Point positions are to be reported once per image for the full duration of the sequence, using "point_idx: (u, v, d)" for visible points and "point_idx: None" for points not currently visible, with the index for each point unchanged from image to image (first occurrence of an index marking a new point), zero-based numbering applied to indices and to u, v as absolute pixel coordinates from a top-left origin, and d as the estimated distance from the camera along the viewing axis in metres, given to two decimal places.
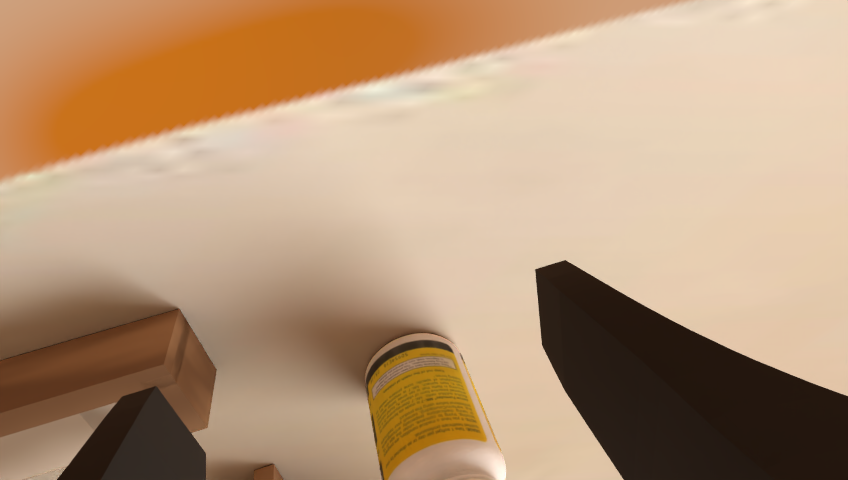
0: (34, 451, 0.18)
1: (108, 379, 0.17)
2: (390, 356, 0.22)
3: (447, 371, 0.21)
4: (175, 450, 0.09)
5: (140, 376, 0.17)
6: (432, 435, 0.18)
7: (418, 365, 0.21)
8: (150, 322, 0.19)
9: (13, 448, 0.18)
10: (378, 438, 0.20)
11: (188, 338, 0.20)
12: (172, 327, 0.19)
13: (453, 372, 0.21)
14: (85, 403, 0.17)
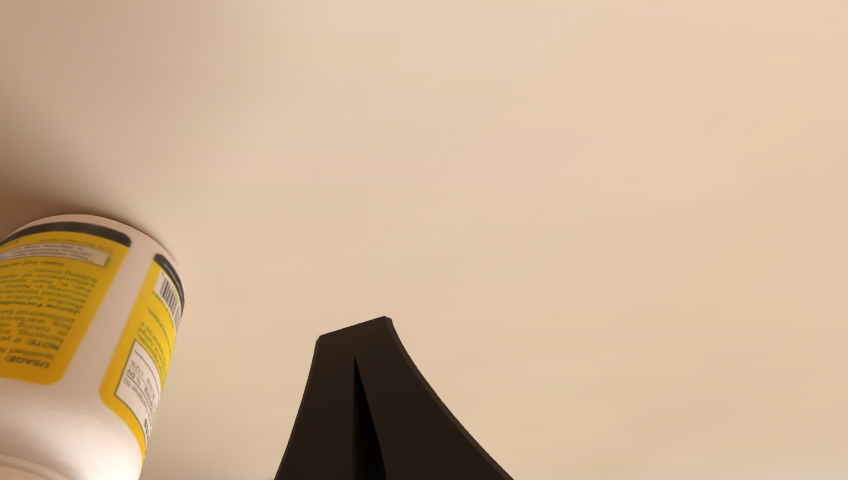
0: None
1: None
2: None
3: (73, 265, 0.11)
4: None
5: None
6: None
7: (18, 255, 0.11)
8: None
9: None
10: None
11: None
12: None
13: (89, 269, 0.11)
14: None
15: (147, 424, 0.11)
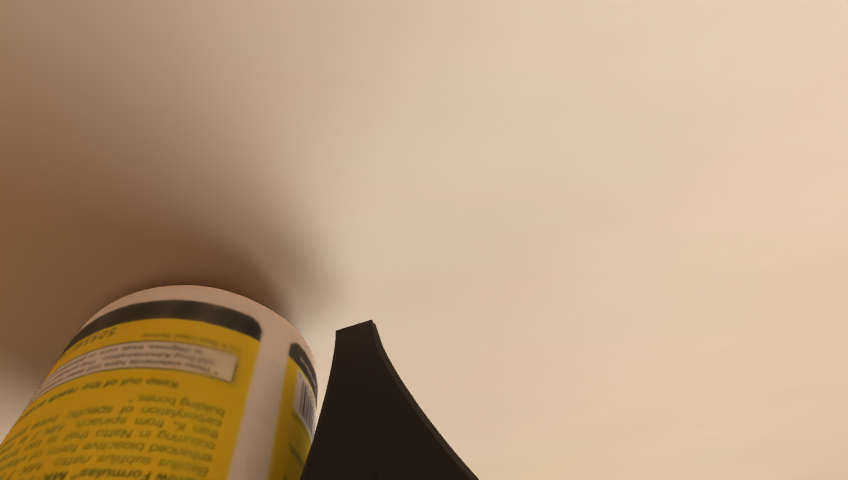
0: None
1: None
2: (84, 335, 0.08)
3: (191, 385, 0.07)
4: None
5: None
6: None
7: (114, 363, 0.07)
8: None
9: None
10: None
11: None
12: None
13: (213, 390, 0.07)
14: None
15: None
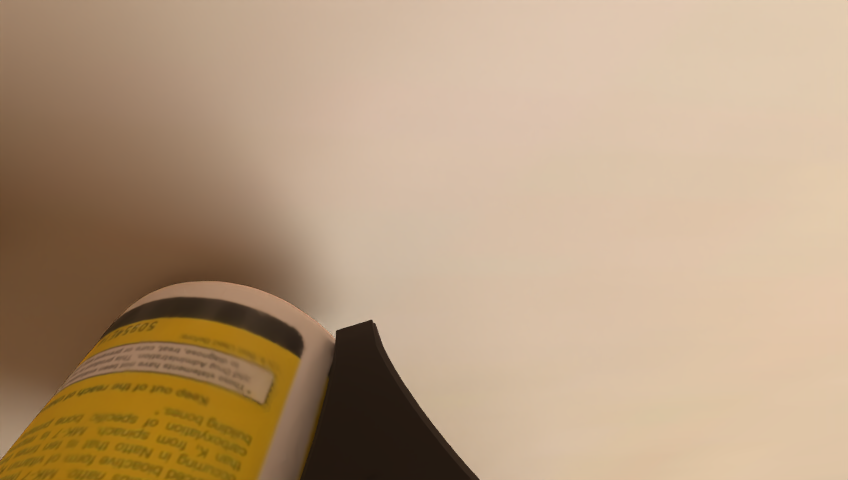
0: None
1: None
2: (126, 322, 0.08)
3: (221, 404, 0.07)
4: None
5: None
6: None
7: (147, 365, 0.07)
8: None
9: None
10: None
11: None
12: None
13: (244, 412, 0.07)
14: None
15: None
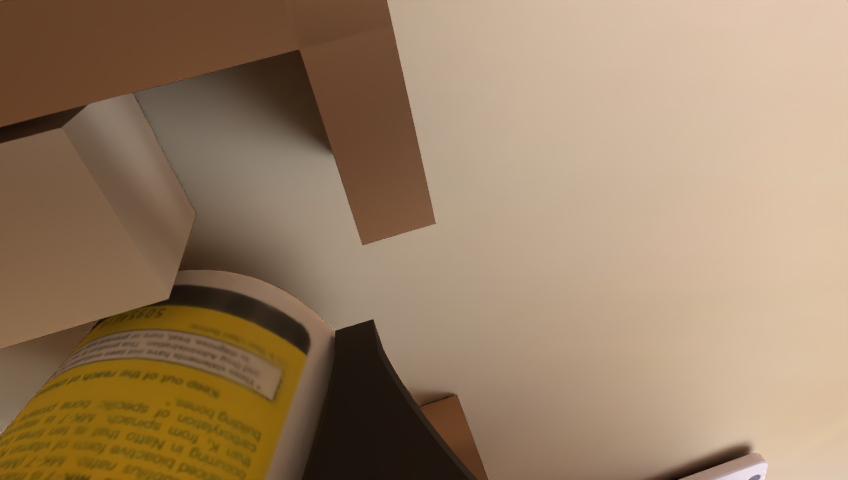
0: None
1: None
2: None
3: (232, 398, 0.07)
4: None
5: None
6: None
7: (158, 353, 0.07)
8: None
9: None
10: None
11: None
12: None
13: (253, 408, 0.07)
14: (90, 65, 0.05)
15: None
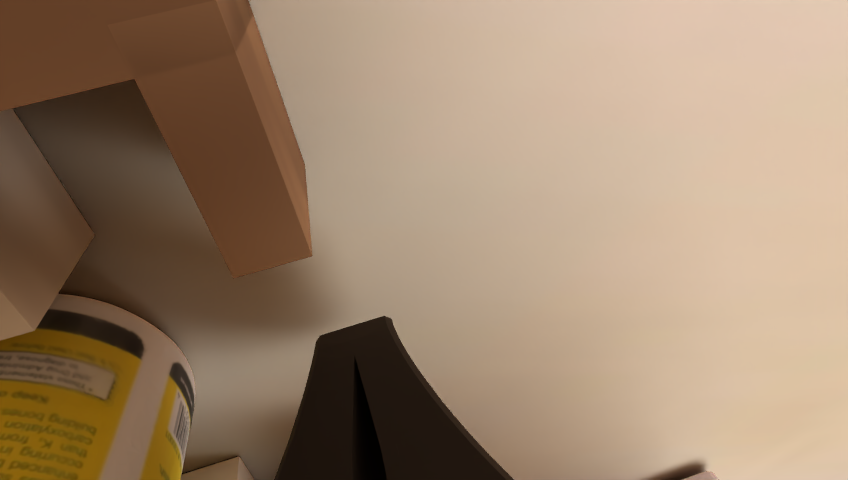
0: None
1: None
2: None
3: (62, 401, 0.07)
4: None
5: None
6: None
7: None
8: None
9: None
10: None
11: (251, 21, 0.07)
12: None
13: (86, 407, 0.07)
14: None
15: None
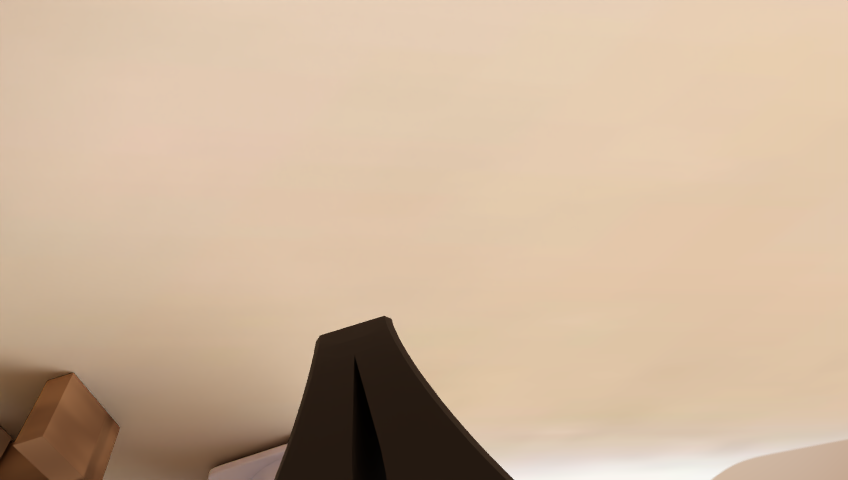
0: None
1: None
2: None
3: None
4: None
5: None
6: None
7: None
8: None
9: None
10: None
11: None
12: None
13: None
14: None
15: None
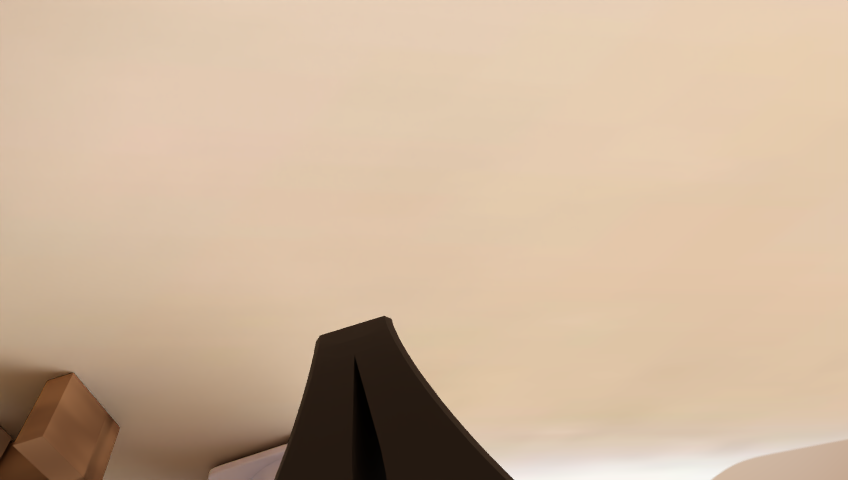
0: None
1: None
2: None
3: None
4: None
5: None
6: None
7: None
8: None
9: None
10: None
11: None
12: None
13: None
14: None
15: None
